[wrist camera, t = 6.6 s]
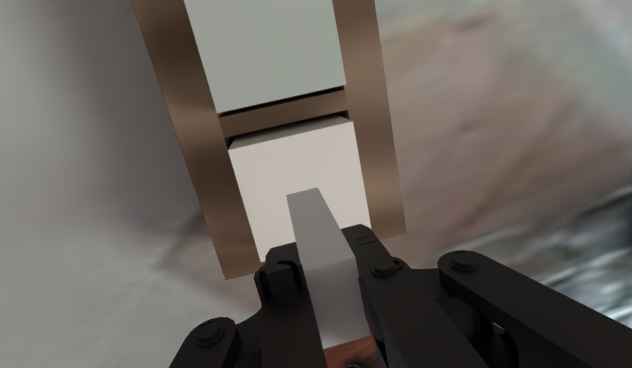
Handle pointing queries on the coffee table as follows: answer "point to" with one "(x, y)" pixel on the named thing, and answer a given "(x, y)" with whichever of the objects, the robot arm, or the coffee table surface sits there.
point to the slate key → (266, 49)
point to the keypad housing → (271, 122)
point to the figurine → (353, 354)
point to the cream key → (298, 175)
